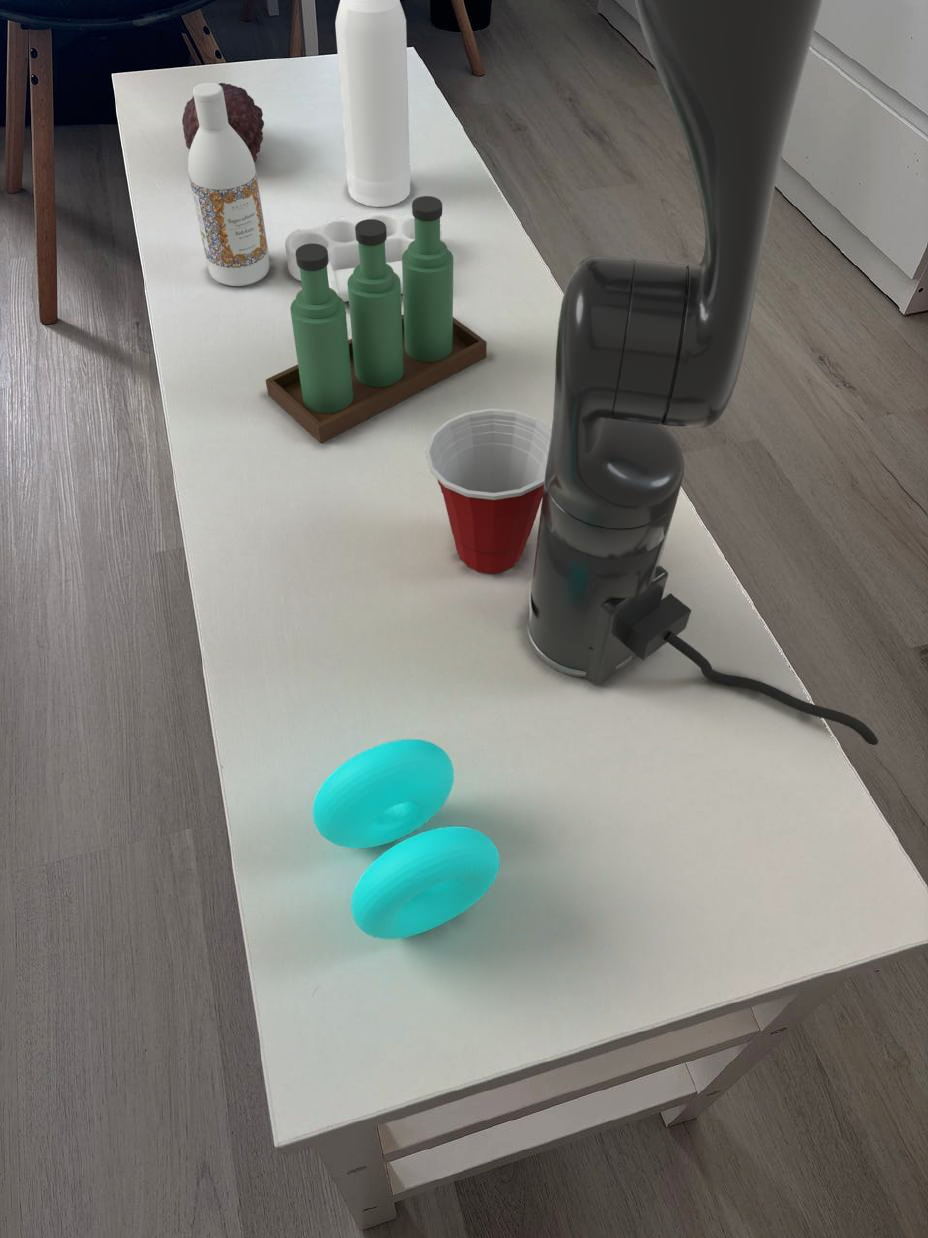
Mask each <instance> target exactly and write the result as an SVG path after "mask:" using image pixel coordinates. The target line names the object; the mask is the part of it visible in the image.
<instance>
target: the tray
mask: <svg viewBox="0 0 928 1238" xmlns="http://www.w3.org/2000/svg"><path fill="white" fill-rule="evenodd" d="M402 337H403V365H404V373H403V376H402V378H401V379H400V380H399V381H398V382H397V383H395V384H393V385H391V386H387V387H370V386H367V385H364V384H363V383H361V382H360V381H359V380H358V379H357V378H356V376H355V368H354V356H353V344H352V338H350V339H348V343H349V355H350V366H351V377H352V389H353V400H352V402H351V404H350V405H349V406H348V407H347V408H345V409H344V410H342V411H340V412H336V413H331V414H322V413H317V412H314V411H312V410H310V409H309V408H307V407H306V405H305V404H304V402H303V397H302V389H301V382H300V375H299V368H298V363H297V364H296V365H293V366H291V367H289V368H287V369H284V370H283V371H281V372H279V373H276V374H274V375H272V376H270V377H268V378H266V379H265V385H266V391H267V395H268V397H269V398H270V399H272V400H273V402H275V403H276V404H277V405H278V406H279V407H280V408H281V409H283V410H284V411H285V413H287V414H288V415H289V416H290V417H291V419H293V420H294V421H296V422H297V424H298V425H300V426H301V427H302V428H303V429H304V430H305V431H306V432H308V434H310V436H312V438H314V439H315V440H316V441H317V442H318V443H320V444H323V443H324V442H326V441H329V440H330V439H332V438H334V437H336V436H338V435H340V434H342V433H344V432H346V431H347V430H349V429H352V428H353V427H356V426H357V425H359V424H361V423H363V422H365V421H368V419H371V418H373V417H375V416H376V415H379V414H380V413H382V412H384V411H386V410H388V409H390V408H391V407H394V406H396V405H398V404H399V403H401V402H403V401H405V400H407V399H409V398H411V397H413V396H415V395H417V394H419V393H421V392H423V391H424V390H427V389H428V388H430V387H432V386H434V385H436V384H438V383H440V382H442V381H444V380H446V379H448V378H450V377H452V376H453V375H455V374H458V373H459V372H461V371H463V370H465V369H467V368H469V367H471V366H473V365H474V364H476V363H478V362H480V361H483V360H484V359H486V358H487V348H488V342H487V340H485V339H484V338H482V337H481V336H480V335H478V334H477V333H475V332H474V331H473V330H472V329H470V328H469V327H467V326H466V325H464V324H463V323H462V322H461V321H459V320H458V319H456V318H455V317H454V316H453V333H452V351H451V353H450V354H449V355H448V356H447V357H446V358H444V359H442V360H440V361H436V362H421V361H418V360H415V359H413V358H411V357H410V356H409V355H408V354H407V353H406V350H405V337H404V313H403V314H402Z"/></svg>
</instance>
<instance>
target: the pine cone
mask: <svg viewBox="0 0 928 1238" xmlns="http://www.w3.org/2000/svg"><path fill="white" fill-rule="evenodd" d="M218 84H219V85H220V86H221V87H222V89H223V93H224V99H225V105H226V111H227V117H228V123H229V125H230V126H231V127H232V128H233V129H234V130H235V132H236V133H237V134H238V135H239V136H240V137H241V139H242V140H243V141H244V143H245V144H246V146H247V147H248V149H249V151H250V153H251V155H252V158H253V161H254V164H255V163H256V162H257V159H258V156H257V155H258V153H260V152H261V144H262V143H263V141H264V132H263V129H264V126H265V120H263V117H264V116H263V115H264V113H263V110H262V108H261V107H259V106H258V105H257V104H255V100H254V98H253V97H252V96H251V95H249V93H248V92H247V90H246V89H244V88H243V87H241V86H240V87H238V86H235V85H232V84H231V83H225V82H220V83H218ZM181 120H182V121H181V122H182V129H183V131H182V132H183V136H184V141H185V146H186V148H187V149H188V150H189V151H190V148H191V145H192V142H193V140H194V137H195V135H196V133H197V131H198V128H199V121H198V116H197V111H196V106H195V101H194V96H193V95H192V98H191V99H190V100H189V101H187V102H186V105H185V106H184V110H183V115H182V118H181Z"/></svg>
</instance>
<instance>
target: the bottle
mask: <svg viewBox="0 0 928 1238" xmlns="http://www.w3.org/2000/svg"><path fill="white" fill-rule="evenodd" d="M334 25H335V37H336V38H335V39H336V50H337V62H338V72H339V73H338V74H339V75H338V76H339V87H340V89H339V91H340V100H341V114H342V127H343V138H344V139H343V140H344V152H345V154H344V155H345V164H346V167H345V177H346V183H347V190H348V194H349V196H350V198H352V199H353V200H354V201H355V202H356V203H358V204H361V205H363V206H365V207H366V206H367V207H372V208H385V207H387V208H388V207H392V206H394V205H398V204H399V203H401V202H404V201H405V200H406V199H407V198H408V197H409V195H410V194H411V193H410V192H411V180H412V168H411V161H410V159H411V157H410V156H411V155H410V120H409V86H408V82H409V81H408V46H407V45H408V43H407V19H406V14H405V12H404V9H403V7H402V3H401V1H400V0H339V4H338V8H337V12H336V16H335V24H334Z"/></svg>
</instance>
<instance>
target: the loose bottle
mask: <svg viewBox="0 0 928 1238" xmlns="http://www.w3.org/2000/svg"><path fill="white" fill-rule="evenodd" d="M295 254H296V262H297V265H298V267H299V268H300V275H301V281H300V283H301V289H300V290H299V291H298V292H297V294H296V296H295V298H294V299H293V301H292V302H291V304H290V308H289V310H290V311H289V312H290V317H291V324H292V333H293V339H294V345H295V346H294V347H295V352H296V360H297V364H298V368H299V375H300V382H301V389H302V397H303V402H304V404H305V405H306V407H307V408H309V409H310V410H312V411H314V412H317V413H322V414H331V413H336V412H340V411H342V410H344V409H345V408H347V407H348V406H349V405H350V404H351V402H352V400H353V389H352V377H351V366H350V355H349V343H348V340H349V334H348V323H347V321H348V320H347V311H346V302H344V301H343V300H342V298H340V297H339V296H338V295H337V293H336V292H335V291H334V290H333V289H331V288H329V282H328V272H327V265H328V262H329V259H328V251H327V249H326V248H325V247H324V246H322V245H320V244H313V243H312V244H305V245H302V246H300V247H299V248H298V249H297V250H296V253H295Z"/></svg>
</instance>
